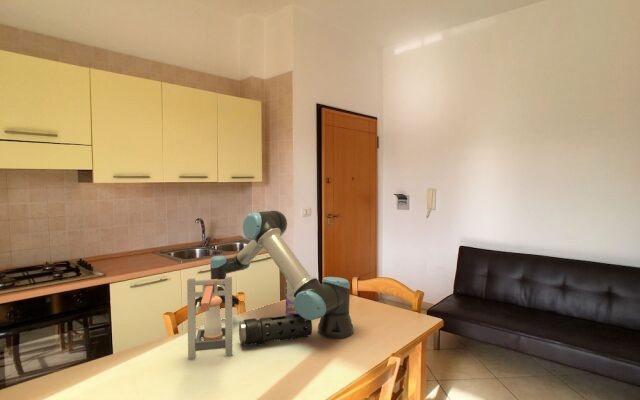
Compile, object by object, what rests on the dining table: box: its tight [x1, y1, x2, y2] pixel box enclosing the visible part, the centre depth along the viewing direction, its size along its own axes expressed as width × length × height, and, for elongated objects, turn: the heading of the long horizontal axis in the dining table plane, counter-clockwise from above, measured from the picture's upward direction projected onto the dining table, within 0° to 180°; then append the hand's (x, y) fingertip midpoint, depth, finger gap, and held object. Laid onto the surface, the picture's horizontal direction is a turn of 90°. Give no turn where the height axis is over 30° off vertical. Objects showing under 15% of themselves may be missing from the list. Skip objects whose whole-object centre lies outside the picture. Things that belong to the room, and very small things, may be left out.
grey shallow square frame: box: [196, 327, 225, 351], centre depth 145 cm, size 12×12×3 cm
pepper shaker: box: [203, 296, 223, 341], centre depth 145 cm, size 7×7×19 cm
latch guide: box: [186, 276, 233, 361], centre depth 133 cm, size 2×15×29 cm, turn 102°
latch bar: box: [200, 278, 218, 312], centre depth 124 cm, size 22×5×5 cm, turn 12°
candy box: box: [285, 280, 298, 315], centre depth 177 cm, size 14×6×16 cm, turn 77°
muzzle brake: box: [238, 314, 313, 346], centre depth 146 cm, size 10×28×10 cm, turn 110°
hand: (213, 309), depth 153 cm, fingers open, 13 cm apart
